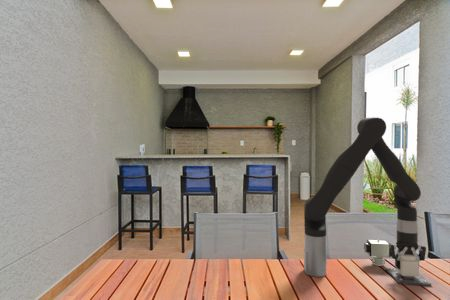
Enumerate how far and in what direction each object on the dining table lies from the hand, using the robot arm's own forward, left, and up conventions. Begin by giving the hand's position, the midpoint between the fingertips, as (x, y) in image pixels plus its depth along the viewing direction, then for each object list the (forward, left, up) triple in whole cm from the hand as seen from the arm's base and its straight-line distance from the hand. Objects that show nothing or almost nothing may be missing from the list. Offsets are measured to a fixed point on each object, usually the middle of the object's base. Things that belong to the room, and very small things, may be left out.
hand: (407, 268), depth 119 cm
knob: (0, 0, -2) cm, 2 cm away
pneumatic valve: (-7, +13, -4) cm, 15 cm away
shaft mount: (0, 0, -4) cm, 4 cm away
